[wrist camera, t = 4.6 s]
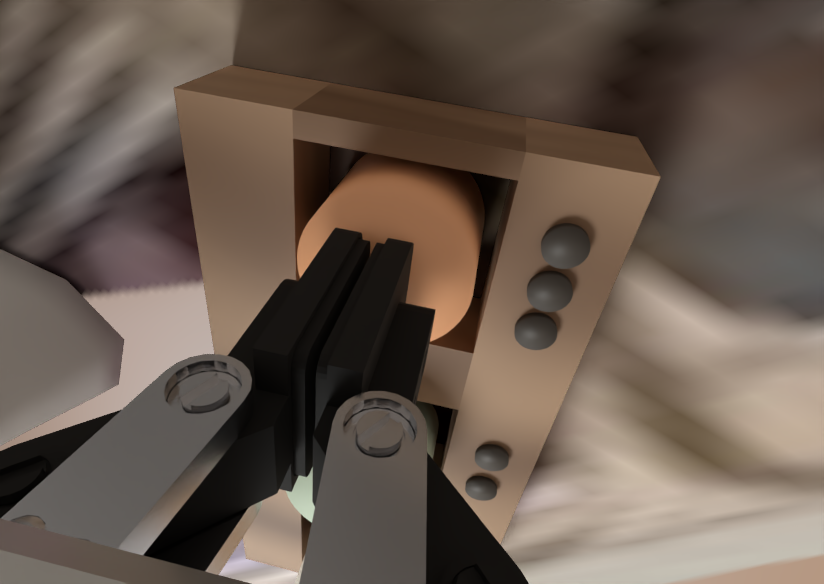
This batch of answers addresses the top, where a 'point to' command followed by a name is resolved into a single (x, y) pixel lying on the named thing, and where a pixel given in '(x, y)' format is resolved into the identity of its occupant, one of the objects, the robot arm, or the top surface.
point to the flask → (49, 348)
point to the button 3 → (410, 227)
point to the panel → (485, 318)
